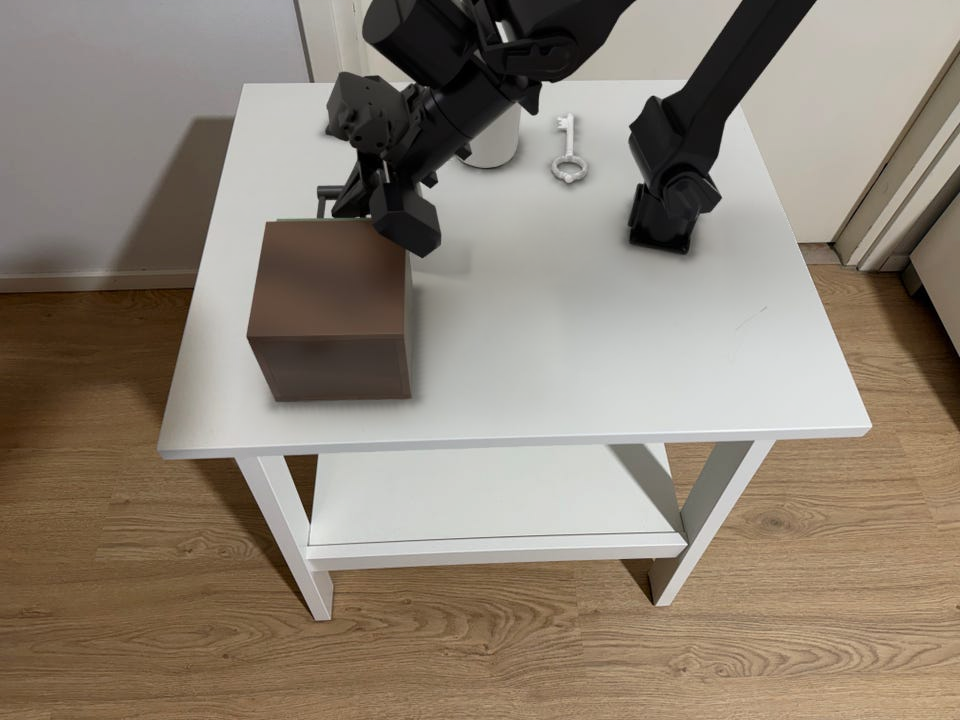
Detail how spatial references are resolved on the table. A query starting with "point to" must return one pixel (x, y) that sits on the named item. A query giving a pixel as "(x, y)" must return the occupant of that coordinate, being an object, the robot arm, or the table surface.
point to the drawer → (325, 194)
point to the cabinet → (332, 312)
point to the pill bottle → (497, 136)
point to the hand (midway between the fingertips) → (334, 216)
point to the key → (569, 152)
